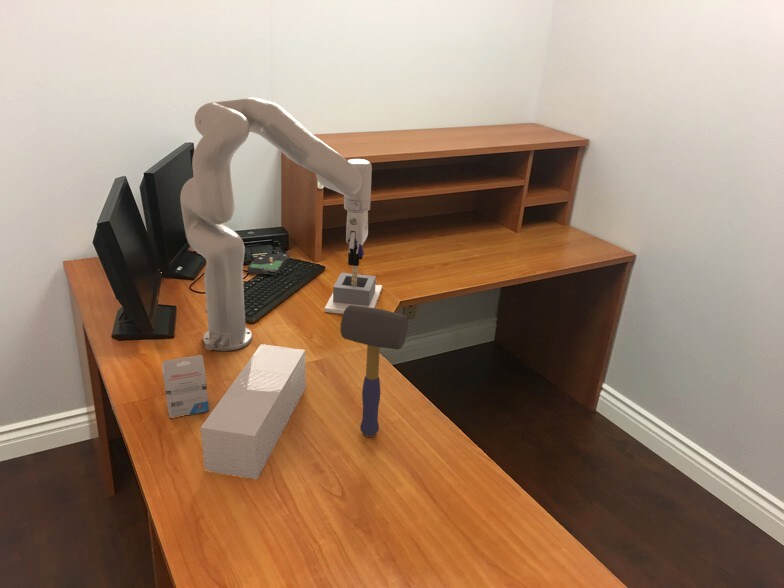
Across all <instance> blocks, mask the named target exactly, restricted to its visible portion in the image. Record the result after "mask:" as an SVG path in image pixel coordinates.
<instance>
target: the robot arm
mask: <svg viewBox="0 0 784 588" xmlns="http://www.w3.org/2000/svg"><path fill="white" fill-rule="evenodd" d="M194 125H195V128H196V131H197V132H198V133H199V134H200V135H201V136H202V137H201V138H200V140H199V141H198V143H197V145H196V147H195V149H194V152H193V156H192V163H191V164H192V175H193V176H192V177H191V178H189V179H187V181H186V182H184V184H183V186H182V187H181V190H180V196H179V197H180V198H179V199H180V201H179V202H180V209H181V214H182V221H183V224H184V225H183V226H184V231H185V237H186V239H187V240H186V241H187V242H188V244H189V246H190V248H192V249H193V250H194V251H195V252H197V253H198V254H199V255H201V257H203V258H204V259H205V260H206V261H205V262H206V266H205V270H204V277H203V278H204V289H205V290H204V292H205V293H204V294H205V302H206V304H205V305H206V314H207V315H206V316H207V325H208V326H207V327H208V330H207V331H206V332H205V333H204V334H203V338H202V339H203V344H204V348H205V349H206V350H208V351H211V350H213V351H220V352H228V351H232V352H233V351H235V350H236V351H237V350H239V349H243V348H244V347H246V346H248V345H249V344H250V343H251V342H252V339H253V333H252V331H251V329H249V328H247V327H246V310H245V293H244V275H243V273H244V272H243V269H244V260H245V252H246V251H245V249H246V247H245V244H244V241H243V239H242V237H241V236H240V235H239V234H238V232H237V231H235V230H233V229H232V228H230V227H228V226H227V225H225V224H227V223H228V222H229V221H230V220H232V218H233V216H234V213H235V200H234V192H233V185H232V184H233V183H232V177H231V175H232V174H231V163H232V159H233V157H234V155H235V154H236V152H237V151H238V150H239V149H240V147H242V145H243V144H244V143H245V142H246V141H247V139H248V137H249V135H250V133H253V134H256V135H259V136H260V137H261V138H263V139H264V140H266V141H267V142H269V144H271V145H272V146H273V147H275V148H276V149H278V151H279V152H281V153H282V154H284V156H286V158H288V159H289V160H291V161H292V162H294V163H295V164H296V165H298V166H300V167H303V168H304V169H306V170H309V171H310V172H313V173H315V178H316V180H317V182H318V183H319V184H320V185H322V186H323V187H325V188H327V189H329V190H330V191H331V190H332V191H334V192H337V193H339V194H341V195H343V199H344V200H343V209H344V210H346V212H347V214H346V226H345V227H346V228H345V229H346V230H345V233H346V235H345V236H346V237H345V241H346V243H347V244H348V251H349V252H347V253H348V256H347V258H348V259H347V265H348V266H352V267H353V266H358V267H359V265H360V260H362V259H363V256H364V255H363V256H361V257H359V253H358V252H359V244H360V245H362V246H363V245H364V243H365V241H366V240H367V238H368V235H369V212H368V211H370V210H371V199H372V198H371V194H372V174H373V173H372V172H373V171H372V170H373V168H372V167H373V166H372V163H371V162H370V161H369V160H367V159H362V158H353V159H347V158H345V157H344V156H343V155H342V154H340V153H339V152H337V151H336V150H334V149H333V148H332V147H330V146H329V145H327V144H326V143H324V141H322V140H321V139H320V138H318V137H316V135H313V133H311V132H310V131H309V130H308V129H307V128H306V127H305V126H303V125H302V124H301V123H300V122H299V121H298V120H297V119H295V118H294V117H293V115H291V114H290V113H289V112H288V111H286V110H285V109H284V108H283V107H282V106H280V105H279V104H278V103H275V102H273V101H268V100H265V99H263V98H262V99H261V98H257V97H247V98H240V99H239V98H238V99H231V100H223V101H222V100H219V101H214V102H213V101H212V102H207V103H205V104H203V105H202V106H200V107H199V108H198V109H197V110H196V112H195V115H194ZM355 241H357V243H355ZM354 245H357V247H355V246H354ZM363 247H364V246H363Z"/></svg>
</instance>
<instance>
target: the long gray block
mask: <svg viewBox="0 0 784 588" xmlns="http://www.w3.org/2000/svg"><path fill="white" fill-rule="evenodd" d="M306 378H307V377H306V349H301V348H293V347H287V346H286V347H285V346H278V345H270V344H264V343H263V344H262V343H261V344H260V345H259V346H258V348H257V349H256V350H255V352H254V353H253V355H251V358H250V359H249V360H248V361H247V363H246V364H245V366H244V367H243V368H242V369H241V371H240V373H239V374H237V376H236V378H235V379H234V381H233V382H232V383H231V385H230V386H229V387H228V389H227V390H226V392H225V393H224V395H223V396H222V397H221V399H220V400H219V401H218V402H217V404H216V406H215V407H213V408H214V409H213V410H212V411H211V412H210V414H209V415H208V417H207V418H206V420H205V421H204V422H203V424H202V425H201V426H200V429H199V430H200V436H201V437H200V438H201V447H202V448H201V449H202V458H203V459H202V460H203V467H204V471H205V470H207V471H211V472H210V473H212V472H216V473H215V474H218V473H221V474H220V475H224V474H228V475H227V476H230V475H235V476H234V477H236V476H241V477H240V478H243V477H247V478H246V479H249V478H253V479H252V480H255V479H257V480H258V479H259V477H260V476H261V474H260V473H262V472H261V471H263V470H264V467H265V466H266V463H267V462H268V460H269V458H270V456H271V454H272V453H273V450H274V449H275V447H276V445H277V443H278V441H279V439H280V437H281V436H280V435H282V434H283V432H282V431H284V429H285V428H286V427H287V424H288V422H289V420H290V419H291V417H290V416H292V415H293V413H294V411H295V408H296V407H297V405H298V403H299V402H300V399H301V398H300V397H302V396H303V394H304V392H305V390H306V386H307V385H306V383H307V382H306V381H307V380H306ZM281 433H282V434H281ZM262 469H263V470H262Z"/></svg>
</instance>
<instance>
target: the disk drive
mask: <svg viewBox="0 0 784 588" xmlns="http://www.w3.org/2000/svg"><path fill="white" fill-rule="evenodd" d="M278 253H279V254H271V253H270V254H271V255H265V256H258V255H257V256H256V257H255V258H254V259H253V260H252V262H250V263H249V265H248V266H247V273H248V274H255V275H261V274H260V273H262V272H265V271H270V272H278V271H279V269H280V268H281V267H282V266H283V265H284V263H285V262H286V261H287V260H288V259H290V258H291V256H290V253H282V252H281V253H280V252H278Z"/></svg>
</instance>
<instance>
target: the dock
mask: <svg viewBox="0 0 784 588" xmlns="http://www.w3.org/2000/svg"><path fill="white" fill-rule="evenodd" d="M357 274H358V273H357ZM376 279H377V276H375V275H368V274H358V276H357V286H358V287H354V286H351V283H352V273H348V272H340V274H339V276H338V278H337V279H336V281H335V283H334V285H333V286H332V289H333V290H332V294H331V296H329V299H328V301H327V303H326V305H325V306H324V313H332V314H342V315H343V313H344V311H345V309H346V308H347V307H348V306H350V305H353V306H362V307H370V308H376V306H377V303H378V301H377V300H379V297H380V295H381V293H380V292H382V290H383V285H381V284H376Z"/></svg>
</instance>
